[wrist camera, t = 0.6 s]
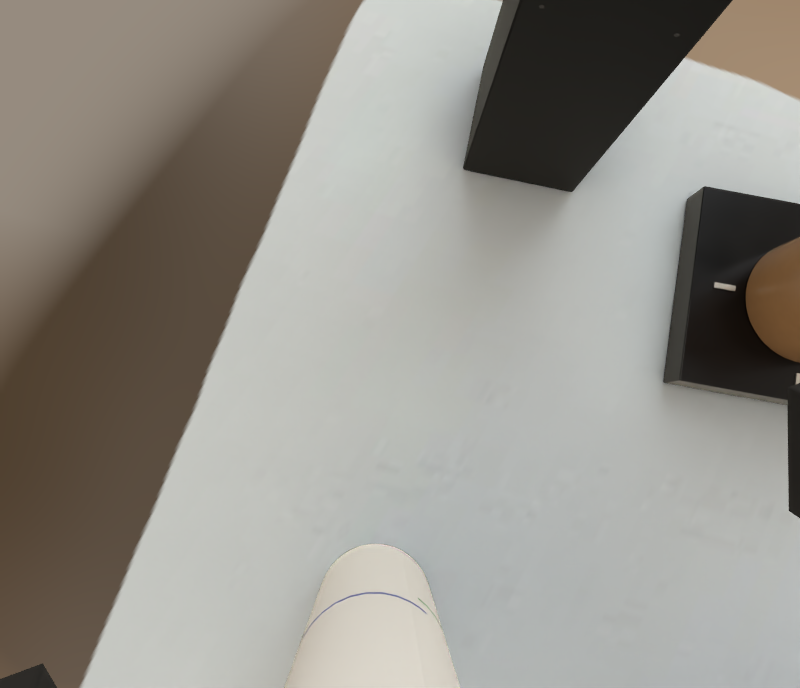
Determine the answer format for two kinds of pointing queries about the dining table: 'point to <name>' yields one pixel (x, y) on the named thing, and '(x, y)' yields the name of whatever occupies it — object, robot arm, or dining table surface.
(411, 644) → the cylindrical container
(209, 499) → the dining table surface
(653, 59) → the tissue box
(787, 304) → the tan pointer knob
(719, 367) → the control knob panel
